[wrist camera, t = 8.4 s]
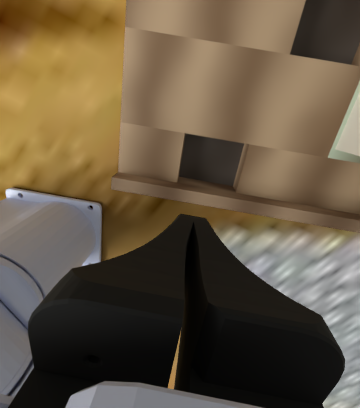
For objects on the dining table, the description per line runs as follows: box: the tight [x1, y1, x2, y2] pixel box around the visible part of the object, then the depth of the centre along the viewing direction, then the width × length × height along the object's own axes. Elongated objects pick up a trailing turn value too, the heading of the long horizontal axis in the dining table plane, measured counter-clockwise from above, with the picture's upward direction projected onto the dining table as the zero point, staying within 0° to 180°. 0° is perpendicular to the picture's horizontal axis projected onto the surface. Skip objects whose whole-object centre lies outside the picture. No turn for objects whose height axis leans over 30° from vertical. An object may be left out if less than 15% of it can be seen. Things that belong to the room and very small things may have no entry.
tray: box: [111, 0, 360, 233], centre depth 16 cm, size 22×16×4 cm
